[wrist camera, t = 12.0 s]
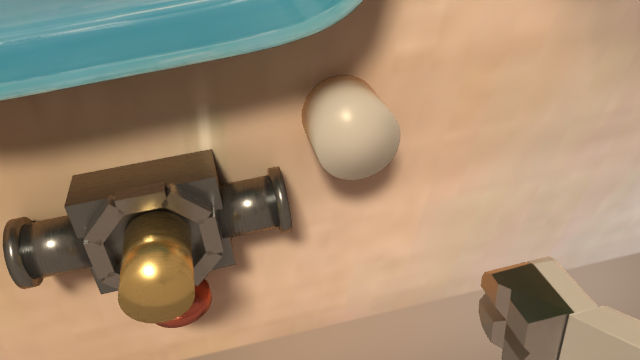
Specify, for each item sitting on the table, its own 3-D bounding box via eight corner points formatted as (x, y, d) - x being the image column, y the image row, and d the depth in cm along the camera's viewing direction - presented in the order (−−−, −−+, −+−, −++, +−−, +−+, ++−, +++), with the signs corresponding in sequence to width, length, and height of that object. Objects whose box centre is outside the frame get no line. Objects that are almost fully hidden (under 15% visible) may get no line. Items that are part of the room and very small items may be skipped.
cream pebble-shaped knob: (376, 68, 41) (399, 95, 37) (379, 139, 44) (400, 170, 40) (297, 83, 40) (312, 111, 36) (306, 153, 44) (320, 187, 39)
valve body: (271, 133, 42) (284, 168, 37) (290, 255, 48) (302, 298, 44) (3, 183, 39) (-18, 228, 35) (62, 306, 46) (51, 357, 41)
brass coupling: (183, 205, 39) (186, 260, 34) (196, 255, 41) (201, 313, 36) (115, 219, 38) (108, 277, 33) (133, 269, 40) (129, 330, 35)
